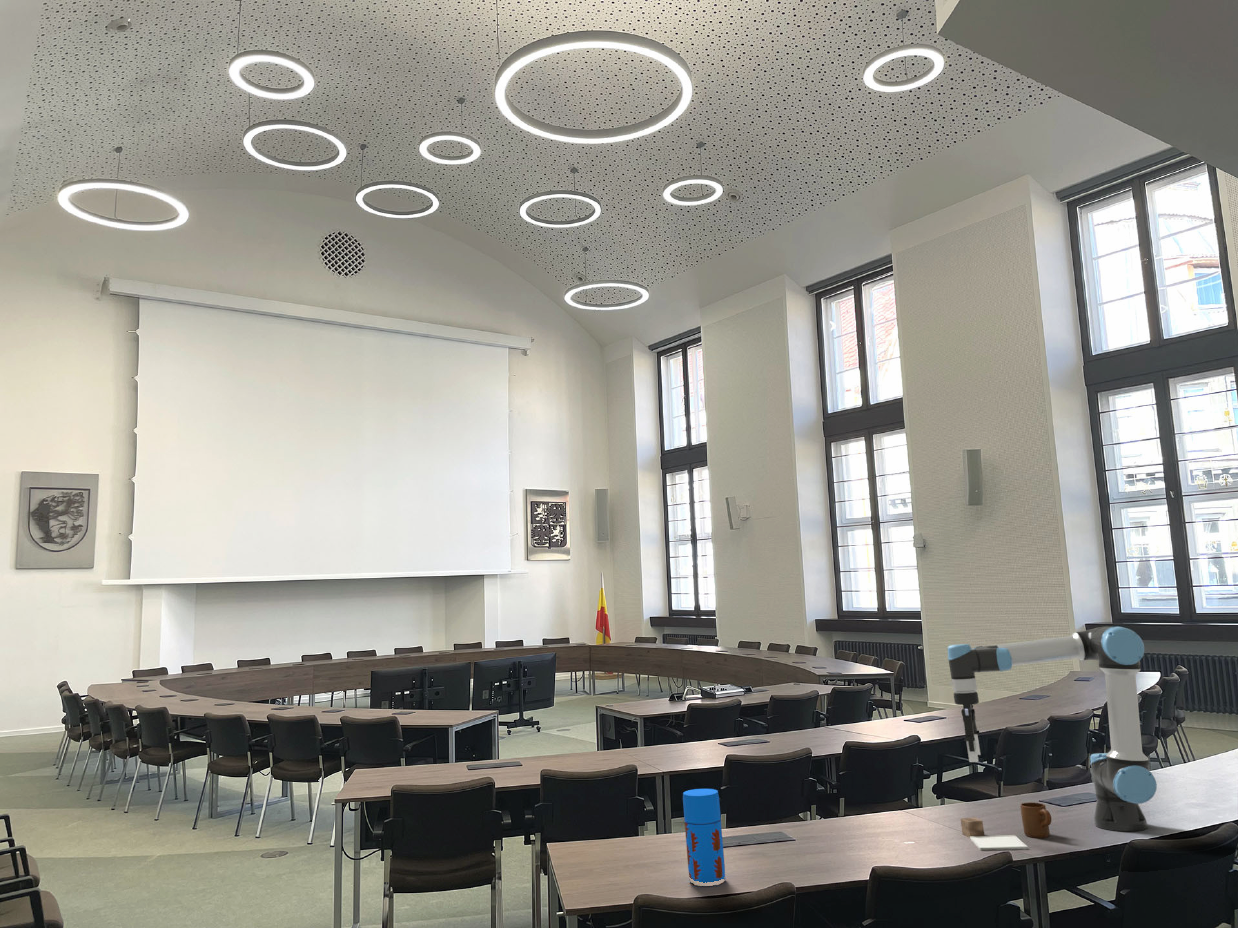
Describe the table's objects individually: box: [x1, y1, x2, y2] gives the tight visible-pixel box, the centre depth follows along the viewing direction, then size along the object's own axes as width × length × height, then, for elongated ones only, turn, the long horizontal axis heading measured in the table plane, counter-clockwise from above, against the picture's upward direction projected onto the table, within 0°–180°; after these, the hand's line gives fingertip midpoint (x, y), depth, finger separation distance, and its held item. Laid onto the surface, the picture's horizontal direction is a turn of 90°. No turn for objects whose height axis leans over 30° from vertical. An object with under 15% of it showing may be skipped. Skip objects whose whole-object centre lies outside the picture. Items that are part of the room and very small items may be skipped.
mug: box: [1020, 802, 1052, 839], centre depth 271 cm, size 12×8×9 cm, turn 9°
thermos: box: [682, 788, 726, 883], centre depth 250 cm, size 11×11×25 cm
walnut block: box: [960, 817, 985, 839], centre depth 277 cm, size 5×5×5 cm
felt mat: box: [969, 834, 1029, 851], centre depth 266 cm, size 14×14×1 cm
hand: (975, 758), depth 276 cm, fingers open, 13 cm apart
